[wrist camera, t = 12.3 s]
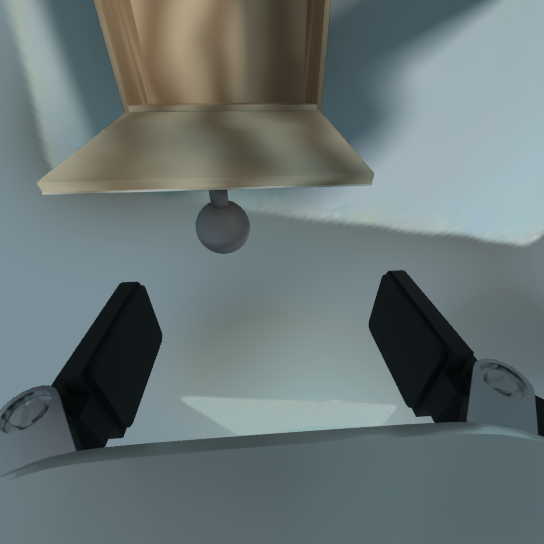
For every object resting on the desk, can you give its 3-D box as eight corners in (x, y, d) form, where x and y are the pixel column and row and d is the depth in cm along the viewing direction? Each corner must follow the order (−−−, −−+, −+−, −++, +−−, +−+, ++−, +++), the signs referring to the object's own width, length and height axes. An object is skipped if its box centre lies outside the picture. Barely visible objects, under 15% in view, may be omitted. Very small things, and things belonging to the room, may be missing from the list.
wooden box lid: (376, 175, 16) (351, 258, 20) (319, 110, 27) (312, 172, 32) (33, 184, 14) (89, 270, 19) (125, 112, 26) (146, 177, 30)
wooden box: (316, -86, 26) (344, -158, 18) (305, 106, 35) (321, 110, 27) (105, -94, 24) (45, -175, 17) (151, 107, 34) (124, 111, 26)
